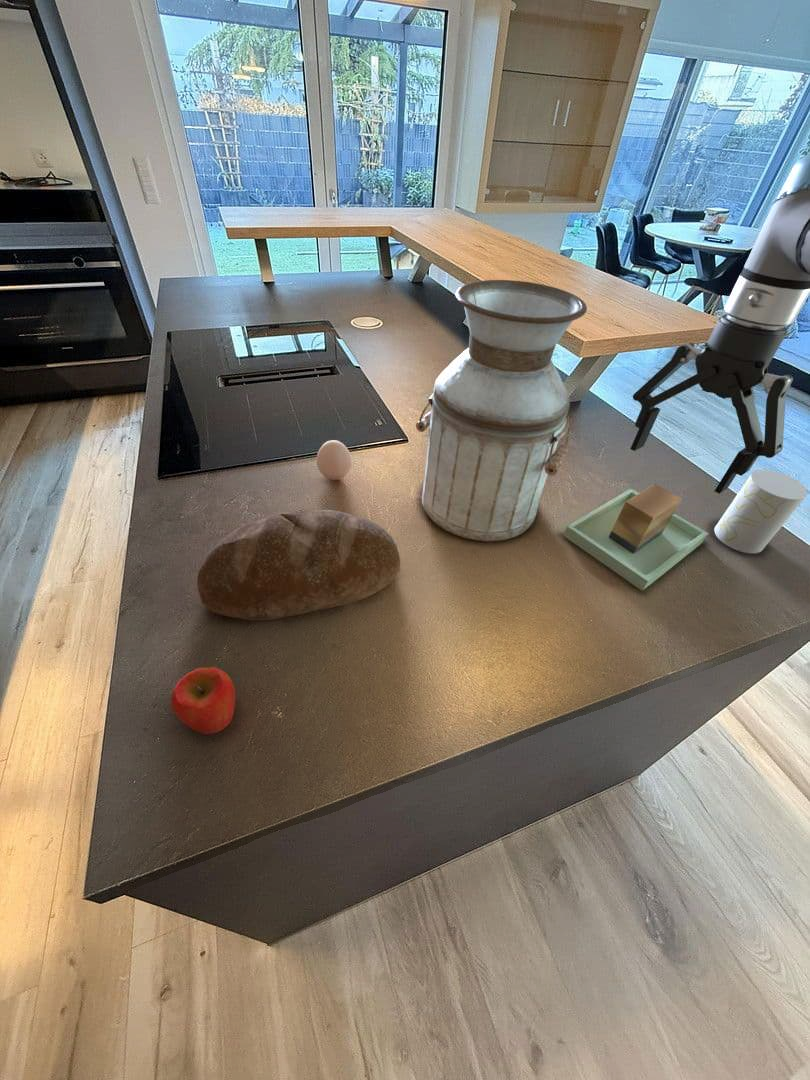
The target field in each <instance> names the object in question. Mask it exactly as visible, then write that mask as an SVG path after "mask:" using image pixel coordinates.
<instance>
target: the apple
mask: <svg viewBox="0 0 810 1080" xmlns="http://www.w3.org/2000/svg"><path fill="white" fill-rule="evenodd" d="M170 698H171V699H170V700H171V706H172V709H173V711H174V714H175V715H176V716H177V718H178V719H179V720H180V721H181V722H182V723H184V725H186V726H188V727H189V728H190V729H191V730H193V731H195V732H197V733H199V734H202V735H213V734H216V733H219V732H221V731H222V730H224V729H225V728H226V727H227V726H228V725H229V724H231V721H232V719H233V717H234V714H235V713H234V712H235V708H236V689H235V686H234V682H233V680H232V678H231V677H230V676H229V674H228V673H227V672H226V671H224V670H222V669H220V668H217V667H214V666H210V667H197V668H195V669H193V670H191V671H190V672H187V674H186V675H184V676H183V677H182V678H181V679H179V681H178V682H177V683H176V685H175V686H174V688H173V690H172V691H171V697H170Z"/></svg>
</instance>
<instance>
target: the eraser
mask: <svg viewBox="0 0 810 1080" xmlns="http://www.w3.org/2000/svg"><path fill="white" fill-rule="evenodd" d="M638 493H639V494H637V495H636V496H634V497H632V498H631V499H629V500H627V501H626V502H625V504H624V506H623V508H622V510H621V512H620V514H619V516H618V518H617V521H616V523H615V525H614V527H613V529H612V531H611V533H610V535H609V538H610V539H612V540H613V541H615V542H616V543H618V544H619V545H621V546H622V547H624V548H625V549H627V550H628V551H630V552H631V553H633V554H634V553H635V552H637V551H638V550H640V549H641V548H642V547H644V546H645V545H647V544H648V543H649V542H651V541H652V540H654V539H655V538H656V537H658V536H659V535H661V534H662V532H663V531H664V529H665V527H666V526H667V524H668V522H669V520H670V519H671V517H672V515H673V514H675V512H676V510H677V508H678V507H679V505H680V503H681V501H682V500H683V498H682V497H680V496H679V495H676V494H675V493H673V492H671V491H669V490H668V489H665V488H664V487H662V486H660V485H659V484H657V483H654V484H652V485H651V486H648V487H647V488H646V489H644V490H642V491H641V492H638Z"/></svg>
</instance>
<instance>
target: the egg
mask: <svg viewBox="0 0 810 1080" xmlns="http://www.w3.org/2000/svg"><path fill="white" fill-rule="evenodd" d="M352 461H353V459H352V455H351V452H350V450H349V448H348V447H347V446H346V445H345V444H344V443H342V441H340V440H336V439H335V440H334V439H333V440H332V439H330V440H328V441H326V442H324V443H323V444H322V445H321V447H320V448H319V450H318V451H317V454H316V466H317V469H318V471H319V472H320V474H321V475H322V476H323V477H324V478H327V479H328V480H333V481H337V480H340V479H343V478H345V477H346V476H347V475H348V474H349V472H350V471H351V469H352V463H353V462H352Z"/></svg>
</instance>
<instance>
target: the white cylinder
mask: <svg viewBox="0 0 810 1080" xmlns="http://www.w3.org/2000/svg"><path fill="white" fill-rule="evenodd" d="M807 496H808V489H807V487H805V486H804V484H803V483H801V482H800V481H798V480H797V479H795V478H794V477H793V476H790V475H787V474H785V473H783V472H779V471H777V470H776V471H775V470H770V469H757V470H754V471H752V472H751V474H750V475H749V477H748V478H747V480H745V482H744V484H743V485H742V487H741V489H740V490H739V491H738V493H737V494H736V496H735V497H734V498H733V500H732V501H731V503H730V505H729V506H728V508H726V510H725V512H724V514H723V515H722V516H721V517H720V519H719V521H718V522H717V524H716V525H715V526H714V534H715V536H716V537H717V539H718V540H719V541H720V542H721V543H723V544H724V545H726V546H727V547H729V548H730V549H732V550H735V551H737V552H741V553H745V554H758V553H760V552H762V551H763V550H764V549H765V548H766V546H767V545H768V544H769V543H770V542H771V541H772V539H773V538H774V537H775V535H777V533H778V531H780V529H781V528H782V527H783V526H784V525H785V523H786V522H787V521H788V520H789V518H790V517H791V516H792V514H793V513H795V511H796V510H797V509H798V507H800V505H801V503H802V502H803V501H804V500H805V499H806V497H807Z"/></svg>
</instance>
